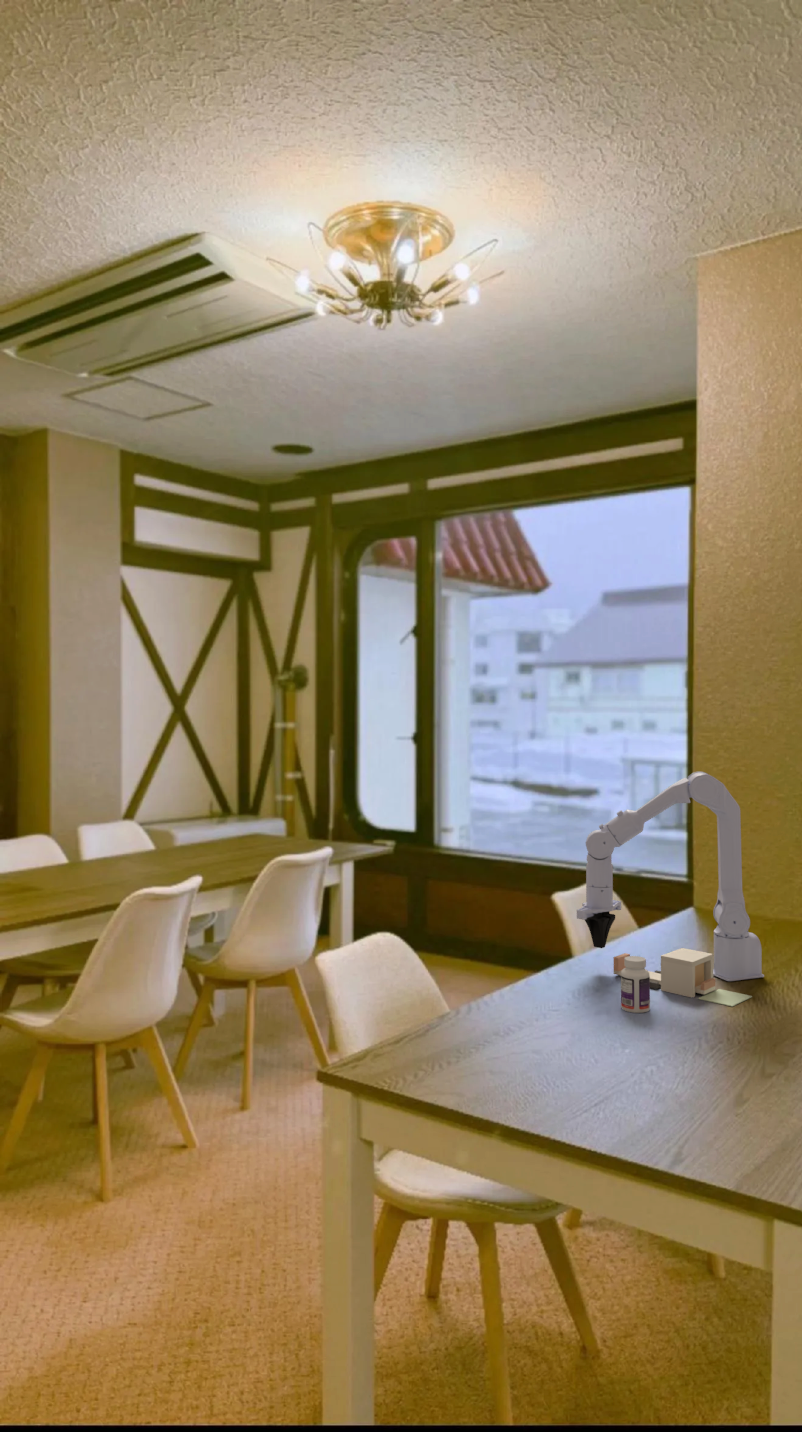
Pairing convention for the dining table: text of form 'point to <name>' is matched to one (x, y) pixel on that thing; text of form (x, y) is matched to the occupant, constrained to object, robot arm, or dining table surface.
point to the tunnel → (684, 970)
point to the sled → (700, 984)
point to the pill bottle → (635, 985)
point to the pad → (725, 997)
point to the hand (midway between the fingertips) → (599, 947)
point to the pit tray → (655, 983)
